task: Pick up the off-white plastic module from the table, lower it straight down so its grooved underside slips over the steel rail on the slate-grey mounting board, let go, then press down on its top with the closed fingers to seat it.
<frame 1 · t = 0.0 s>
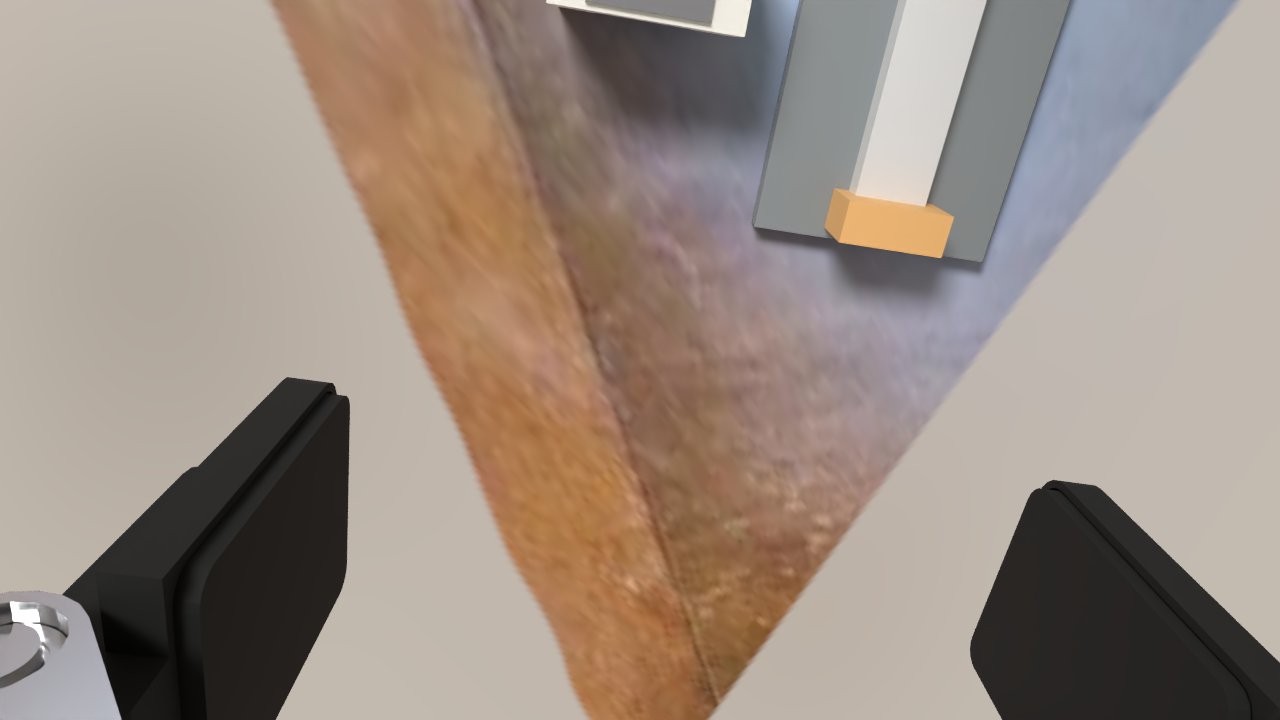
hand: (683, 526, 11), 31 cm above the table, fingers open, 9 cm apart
rail board: (920, 34, 37), on the table
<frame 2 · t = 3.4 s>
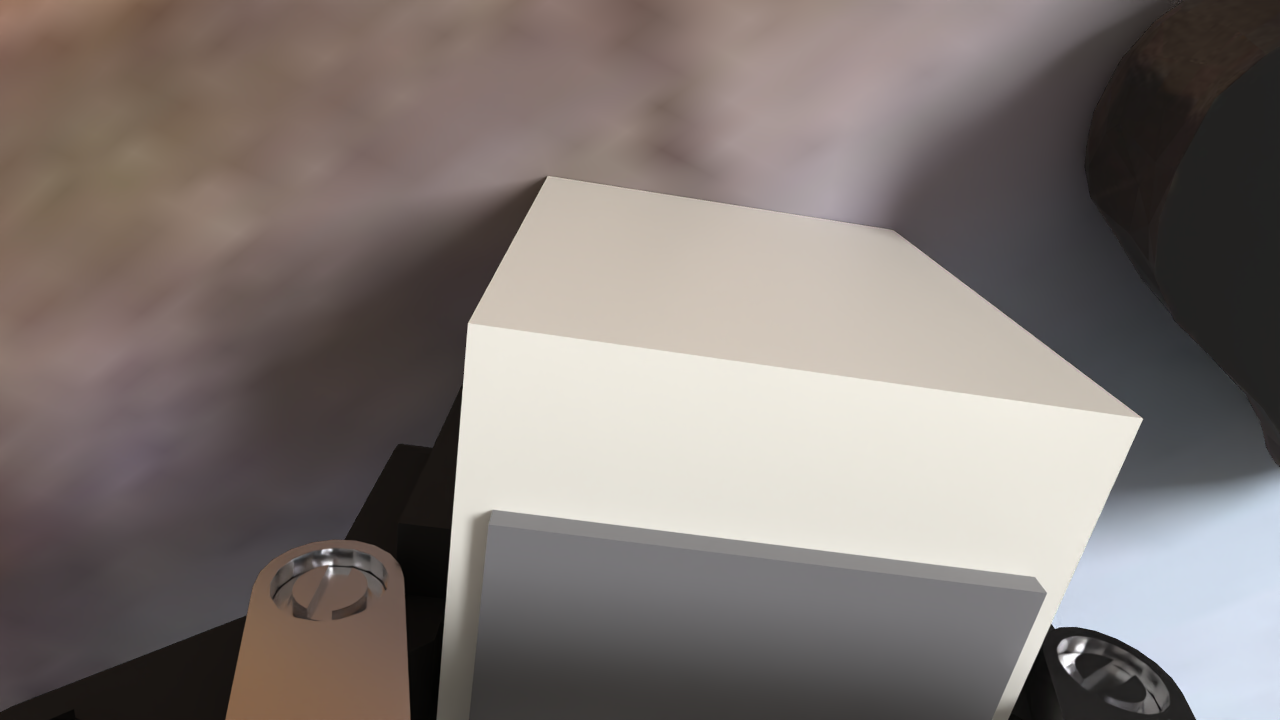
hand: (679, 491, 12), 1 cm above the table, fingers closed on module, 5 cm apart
module: (674, 448, 13), on the table, touching gripper
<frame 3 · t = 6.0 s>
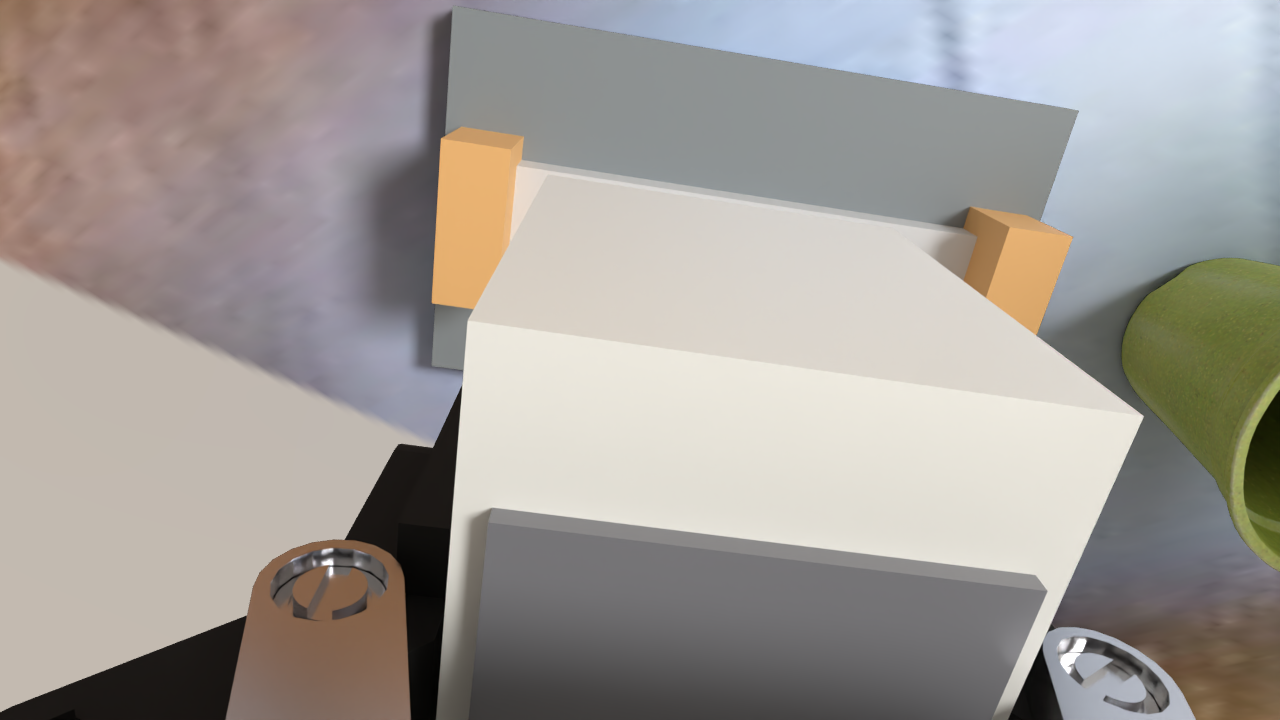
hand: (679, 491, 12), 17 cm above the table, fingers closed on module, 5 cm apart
rail board: (732, 238, 28), on the table
plant pot: (1195, 333, 30), on the table
module: (674, 447, 13), point 16 cm above the table, touching gripper
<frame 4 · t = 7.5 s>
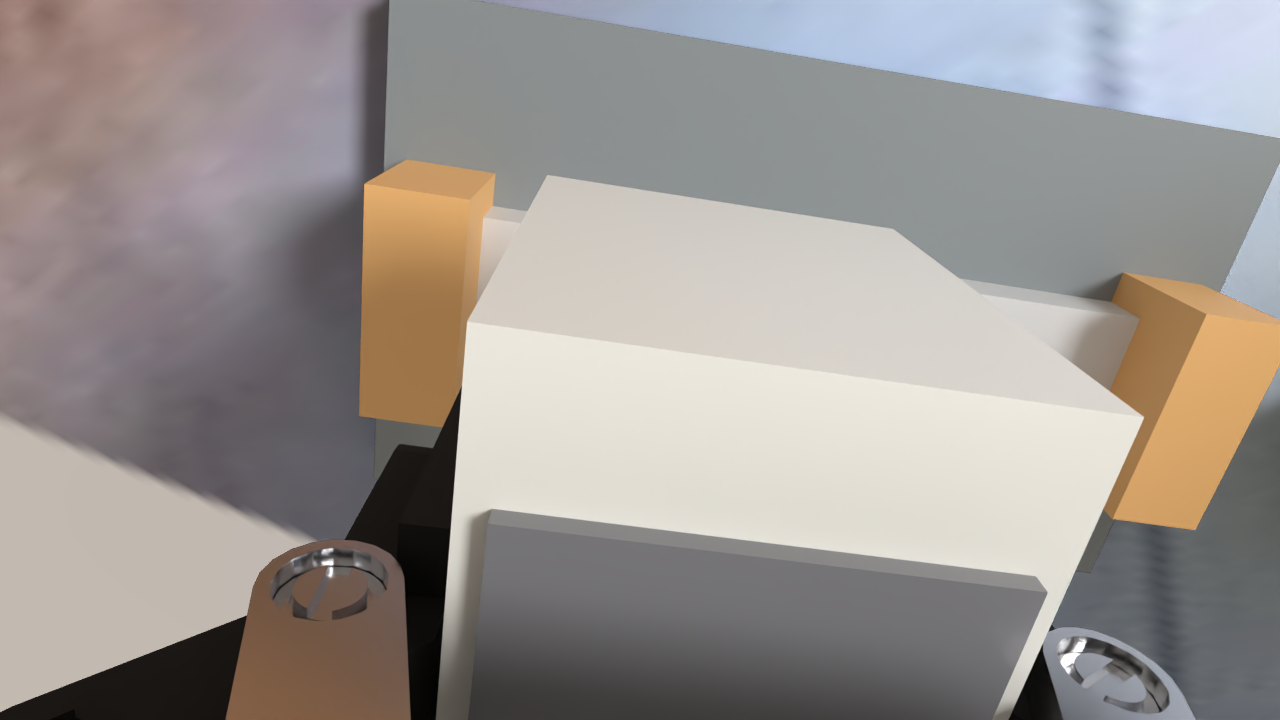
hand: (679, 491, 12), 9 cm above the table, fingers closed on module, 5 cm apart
rail board: (785, 310, 20), on the table
module: (674, 447, 13), point 8 cm above the table, touching gripper
when the fingers open (4 cm above the table, at t = 8.9 s): module drops 1 cm, resting on rail board.
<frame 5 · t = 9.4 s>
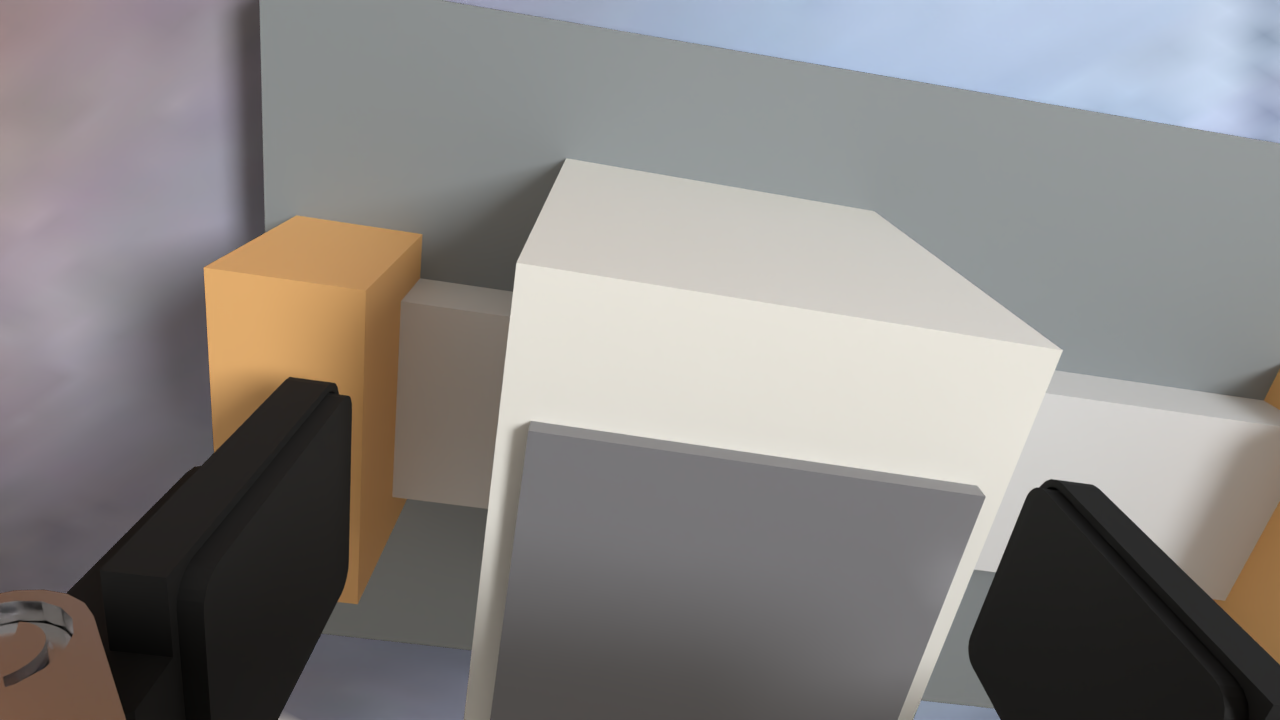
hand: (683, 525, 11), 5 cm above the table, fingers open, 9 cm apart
rail board: (821, 406, 15), on the table
module: (675, 408, 14), point 1 cm above the table, touching rail board
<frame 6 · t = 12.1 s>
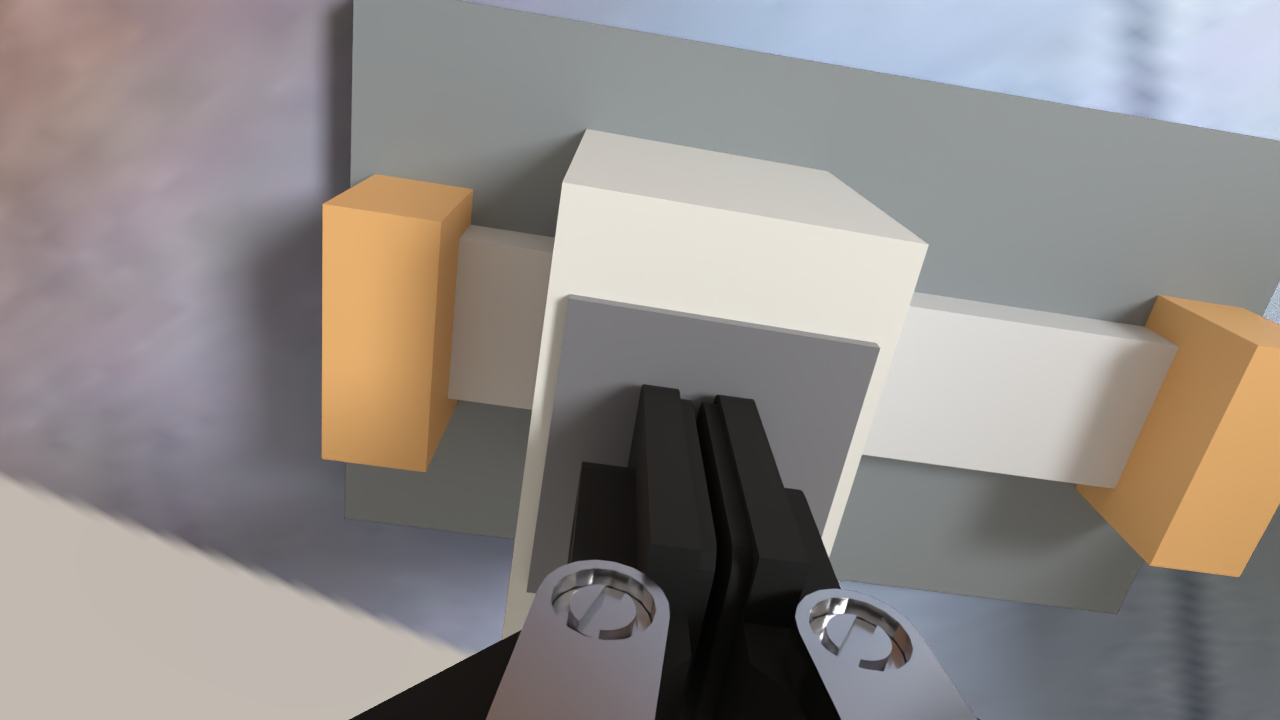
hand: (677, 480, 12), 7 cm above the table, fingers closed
rail board: (790, 335, 19), on the table
module: (672, 332, 18), point 1 cm above the table, touching gripper, rail board
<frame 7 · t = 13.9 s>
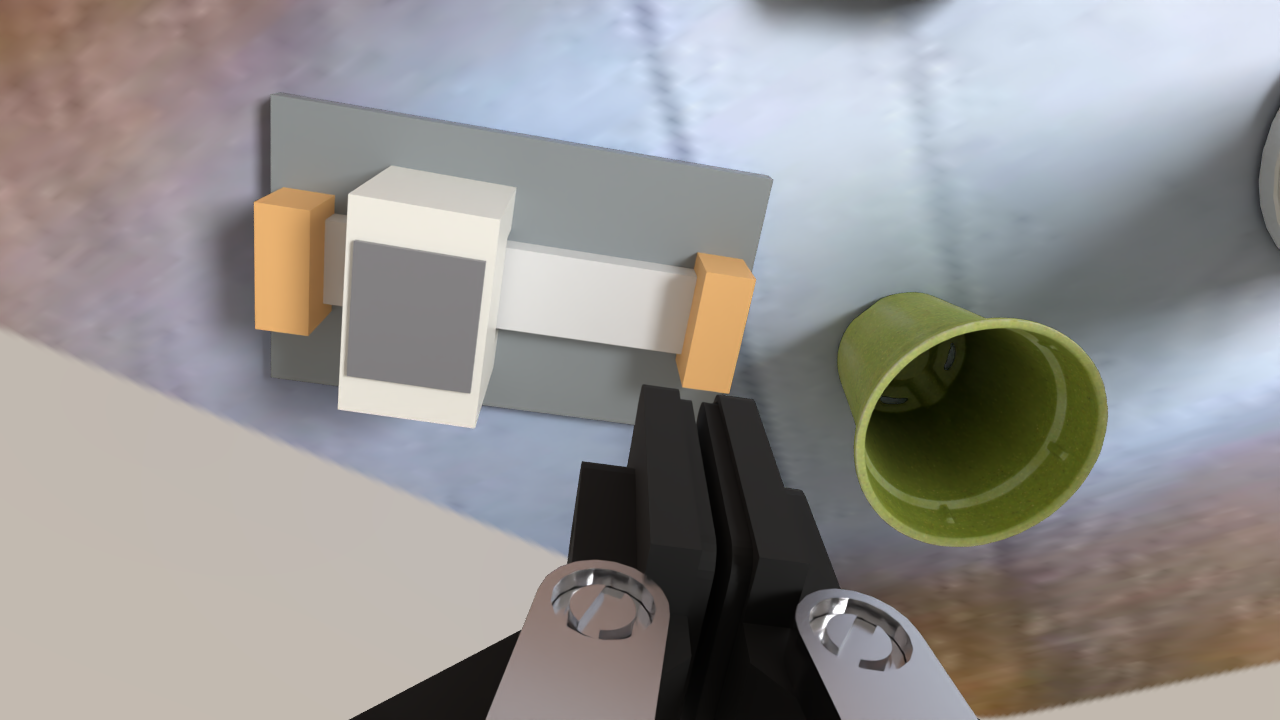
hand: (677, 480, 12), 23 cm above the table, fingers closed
rail board: (516, 275, 35), on the table
plant pot: (896, 351, 37), on the table
module: (445, 271, 33), point 1 cm above the table, touching rail board
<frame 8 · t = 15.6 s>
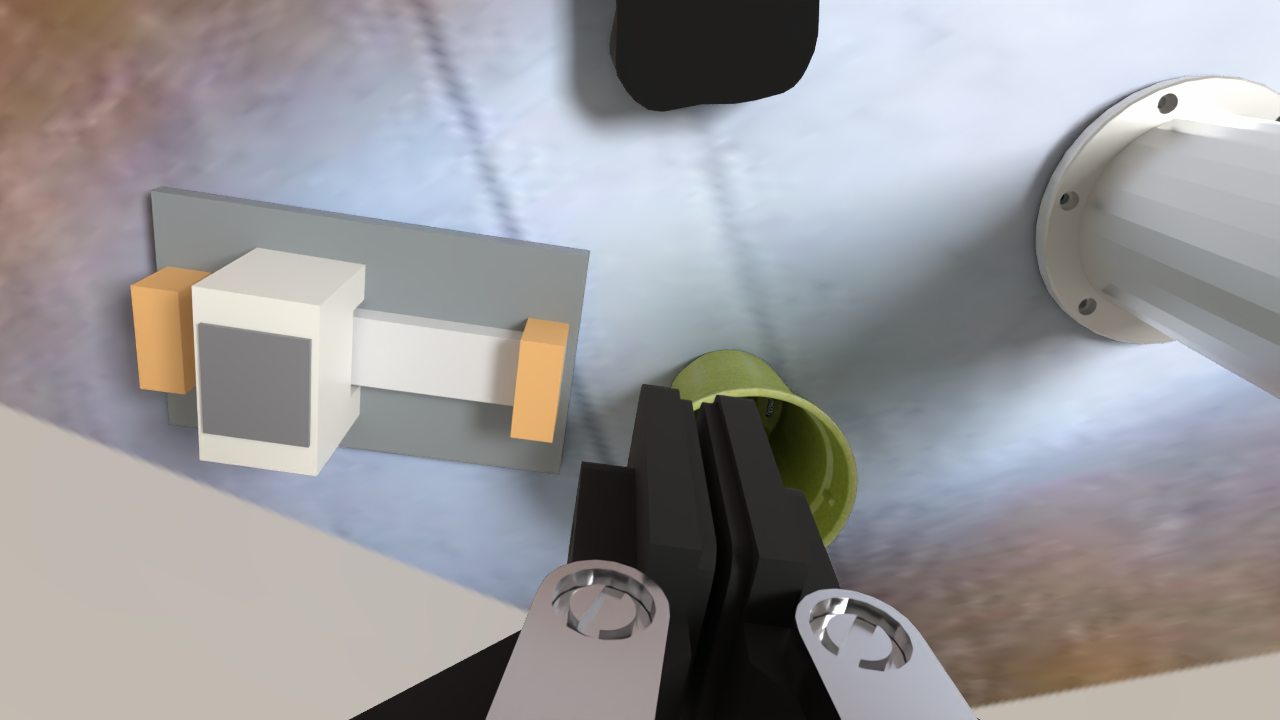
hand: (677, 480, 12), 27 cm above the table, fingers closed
rail board: (376, 336, 40), on the table
plant pot: (723, 400, 42), on the table
module: (310, 334, 39), point 1 cm above the table, touching rail board
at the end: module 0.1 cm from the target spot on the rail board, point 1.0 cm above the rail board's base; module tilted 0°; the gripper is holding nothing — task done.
